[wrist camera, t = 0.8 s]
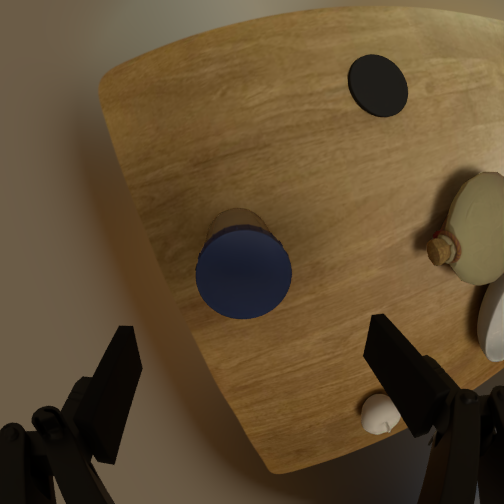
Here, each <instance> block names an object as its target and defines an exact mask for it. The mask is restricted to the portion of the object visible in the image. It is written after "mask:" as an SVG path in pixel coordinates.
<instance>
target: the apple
mask: <svg viewBox="0 0 504 504" xmlns="http://www.w3.org/2000/svg"><path fill="white" fill-rule="evenodd" d="M400 416H401V415H400V413H399V412H398V410H397V409H396V407H395V405H394V404H393V402H392V401H391V399H390V397H388V396H386V395H384V394H375V395H372V396H371V397H369V398H368V399H367V400H366V401H365V403H364V405H363V407H362V414H361V423H362V426H363V428H364V429H365V430H366V431H367V432H369V433H372V434H376V435H379V434H382V433H384V432H387V431H388V432H389V433H390V432H391V430H390V429H392V428H393V427H394V426H395V425H396V424H397V423H398V421H399V420H400Z"/></svg>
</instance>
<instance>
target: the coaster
mask: <svg viewBox="0 0 504 504" xmlns="http://www.w3.org/2000/svg"><path fill="white" fill-rule="evenodd" d="M348 85H349V89H350V92H351V94H352V96H353V98H354V100H355V101H356V102H357V104H358V105H359V106H360V107H361V108H362V109H363V110H365V111H366V112H368V113H370V114H371V115H374V116H378V117H389V116H393V115H396V114H397V113H399V112H400V111H401V110H402V109H403V108H404V106H405V104H406V102H407V98H408V87H407V83H406V80H405V77H404V75H403V74H402V72H401V71H400V69H399V68H398V67H397V66H396V65H395V64H394V63H393V62H392V61H390V60H389V59H387V58H385V57H383V56H380V55H373V54H370V55H365V56H362V57H360V58H359V59H357V60H356V61H355V62H354V63H353V64H352V66H351V68H350V70H349V74H348Z"/></svg>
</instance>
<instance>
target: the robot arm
mask: <svg viewBox="0 0 504 504" xmlns="http://www.w3.org/2000/svg"><path fill="white" fill-rule="evenodd" d="M363 357H364V358H365V360H366V361H367V363H368V364H369V366H370V368H371V369H372V371H373V372H374V374H375V375H376V377H377V378H378V380H379V382H380V383H381V385H382V386H383V388H384V389H385V391H386V393H387V394H388V396H389V397H390V399H391V401H392V402H393V404H394V405H395V407H396V409H397V410H398V412H399V413H400V415H401V417H402V418H403V420H404V422H405V423H406V425H407V426H408V428H409V430H410V431H411V433H412V435H413V436H414V438H416V437H419V436H422V435H425V434H427V433H428V432H429V431H430V429H431V427H432V425H434V426H435V428H436V431H435V433H434V435H433V437H432V438H431V440H430V441H429V444H428V445H430V444H431V443H432V447H431V452H430V457H429V462H428V466H427V470H426V474H425V478H424V482H423V486H422V489H421V493H420V496H419V499H418V503H417V504H474V500H475V493H476V486H477V481H478V488H479V497H480V504H504V386H496V387H494V388H493V390H492V391H491V393H490V395H483V396H478V395H477V393H475V392H474V391H472V390H469V389H460V387H459V386H458V385H457V384H456V383H455V382H454V381H453V379H452V378H451V377H450V376H449V375H448V374H447V373H445V370H444V369H443V368H441V366H440V365H439V364H438V363H437V362H436V360H434V359H433V358H431V357H429V356H428V355H425V356H422V355H421V354H420V353H419V352H418V351H417V350H416V349H415V347H414V346H413V345H412V344H411V343H410V342H409V341H408V340H407V338H406V337H405V336H404V335H403V334H402V333H401V332H400V331H399V330H398V329H397V328H396V326H395V325H394V324H393V323H392V322H391V321H390V320H389V319H388V318H387V317H386V316H385V315H384V314H376V315H372V316H371V321H370V326H369V331H368V336H367V341H366V345H365V350H364V354H363ZM142 369H143V368H142V364H141V360H140V355H139V351H138V347H137V342H136V338H135V333H134V328H133V326H119V327H118V329H117V331H116V333H115V334H114V337H113V338H112V340H111V342H110V344H109V346H108V348H107V350H106V351H105V353H104V355H103V357H102V359H101V361H100V363H99V365H98V367H97V369H96V371H95V373H94V375H93V377H84V376H83V377H82V378H81V379H80V380H78V381H77V382H76V383H75V385H74V387H73V389H72V390H71V393H70V394H69V396H68V399H67V400H66V402H65V404H64V406H63V408H62V410H61V412H60V411H59V409H58V408H56V407H53V406H45V407H42V408H40V409H38V410H37V411H36V412H35V413H34V414H33V416H32V424H33V425H34V427H35V428H36V430H37V431H25V430H24V428H23V427H22V426H21V425H20V424H18V423H9V424H6V425H5V426H3V428H2V429H1V430H0V504H56V497H55V490H54V482H53V476H55V479H56V482H57V484H58V486H59V489H60V491H61V494H62V496H63V498H64V500H65V502H66V504H115V503H114V501H113V500H112V498H111V497H110V495H109V493H108V492H107V490H106V488H105V486H104V485H103V483H102V481H101V479H100V478H99V476H98V474H97V472H96V470H95V468H94V466H93V465H92V463H91V458H92V455H94V457H95V458H96V460H97V461H98V462H101V463H107V464H113V465H114V464H115V461H116V457H117V453H118V450H119V446H120V442H121V438H122V434H123V431H124V427H125V424H126V421H127V417H128V414H129V410H130V407H131V404H132V400H133V397H134V394H135V391H136V387H137V384H138V381H139V378H140V375H141V372H142ZM495 428H496V431H497V433H496V432H495Z"/></svg>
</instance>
